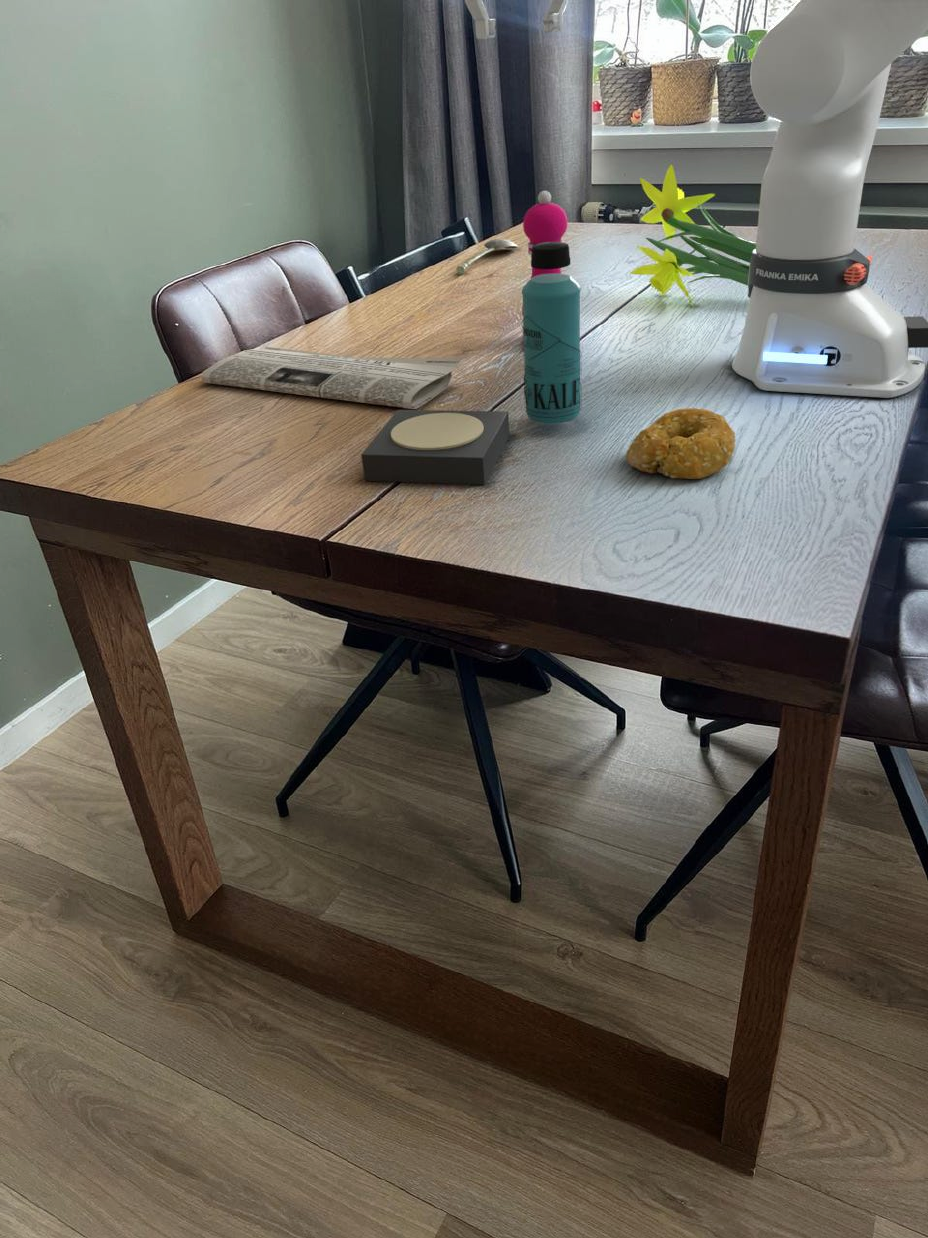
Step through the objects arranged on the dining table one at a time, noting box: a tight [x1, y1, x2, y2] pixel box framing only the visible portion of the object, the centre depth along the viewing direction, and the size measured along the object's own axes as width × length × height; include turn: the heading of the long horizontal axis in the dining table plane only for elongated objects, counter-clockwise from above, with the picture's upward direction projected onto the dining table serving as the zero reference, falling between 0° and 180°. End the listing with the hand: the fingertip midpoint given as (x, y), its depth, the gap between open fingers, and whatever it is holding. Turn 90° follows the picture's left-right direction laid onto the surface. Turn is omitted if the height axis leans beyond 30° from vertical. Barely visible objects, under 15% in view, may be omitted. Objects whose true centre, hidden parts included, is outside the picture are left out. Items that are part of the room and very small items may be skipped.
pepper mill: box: [521, 190, 568, 316], centre depth 132 cm, size 7×7×20 cm
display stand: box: [361, 409, 510, 486], centre depth 103 cm, size 13×13×3 cm
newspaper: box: [201, 346, 462, 410], centre depth 127 cm, size 35×12×4 cm, turn 61°
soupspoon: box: [455, 238, 519, 276], centre depth 183 cm, size 22×3×7 cm
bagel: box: [625, 407, 736, 480], centre depth 96 cm, size 10×11×5 cm
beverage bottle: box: [521, 242, 583, 424], centre depth 104 cm, size 6×7×20 cm
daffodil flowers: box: [629, 163, 756, 307], centre depth 144 cm, size 17×15×35 cm
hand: (520, 34), depth 106 cm, fingers open, 8 cm apart
